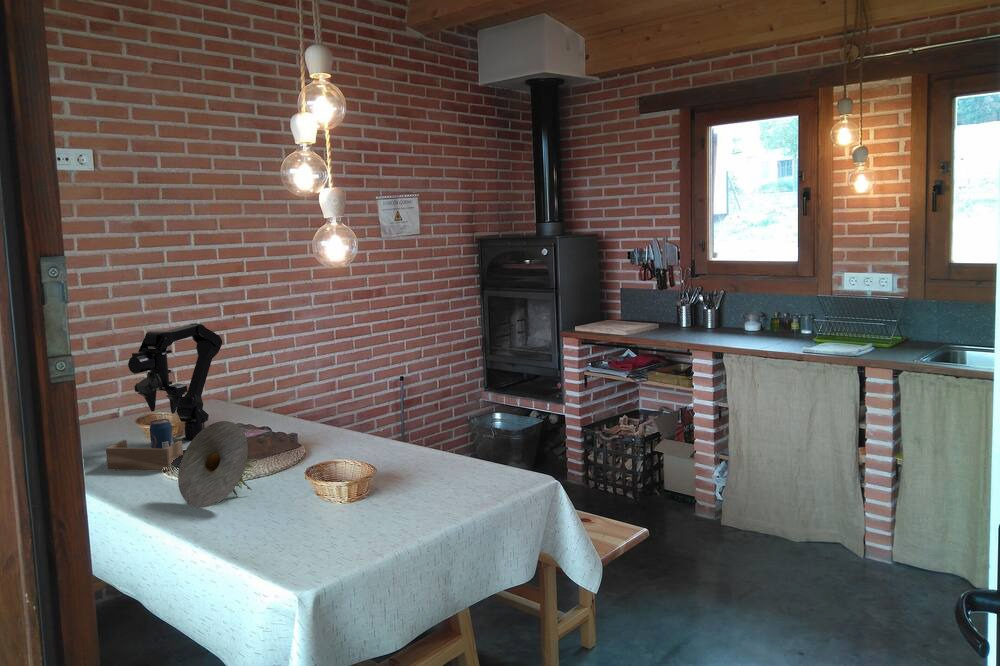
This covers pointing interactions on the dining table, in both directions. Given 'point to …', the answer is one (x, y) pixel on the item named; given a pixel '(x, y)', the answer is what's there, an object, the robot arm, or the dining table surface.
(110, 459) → the wooden u-shaped frame
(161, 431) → the soda can
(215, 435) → the disc
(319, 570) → the dining table surface
